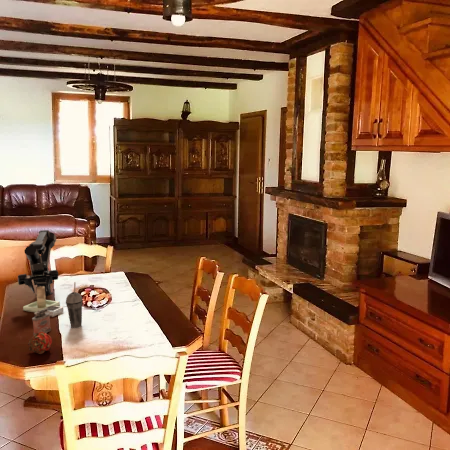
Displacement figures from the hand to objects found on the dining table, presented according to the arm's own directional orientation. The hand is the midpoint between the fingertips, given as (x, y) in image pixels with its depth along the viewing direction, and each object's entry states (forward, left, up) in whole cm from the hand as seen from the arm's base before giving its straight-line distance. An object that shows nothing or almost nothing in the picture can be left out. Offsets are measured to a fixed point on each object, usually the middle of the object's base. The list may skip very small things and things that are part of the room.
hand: (40, 291), depth 238 cm
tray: (-1, -1, -9) cm, 9 cm away
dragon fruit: (+38, +37, -9) cm, 54 cm away
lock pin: (-1, -1, -8) cm, 8 cm away
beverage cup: (+12, +32, -9) cm, 35 cm away
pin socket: (+3, +10, -9) cm, 14 cm away
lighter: (+23, +23, -9) cm, 34 cm away
